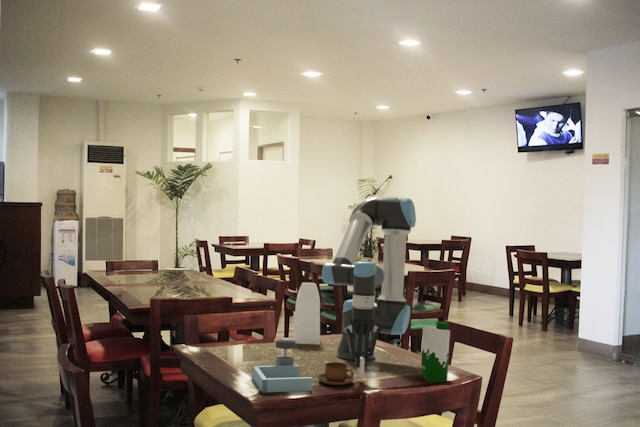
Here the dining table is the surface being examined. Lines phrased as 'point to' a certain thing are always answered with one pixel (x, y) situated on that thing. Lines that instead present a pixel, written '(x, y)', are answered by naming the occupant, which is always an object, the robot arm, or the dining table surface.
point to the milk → (307, 315)
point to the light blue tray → (281, 376)
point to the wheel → (285, 344)
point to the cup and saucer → (336, 374)
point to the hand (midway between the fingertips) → (360, 376)
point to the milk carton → (435, 352)
